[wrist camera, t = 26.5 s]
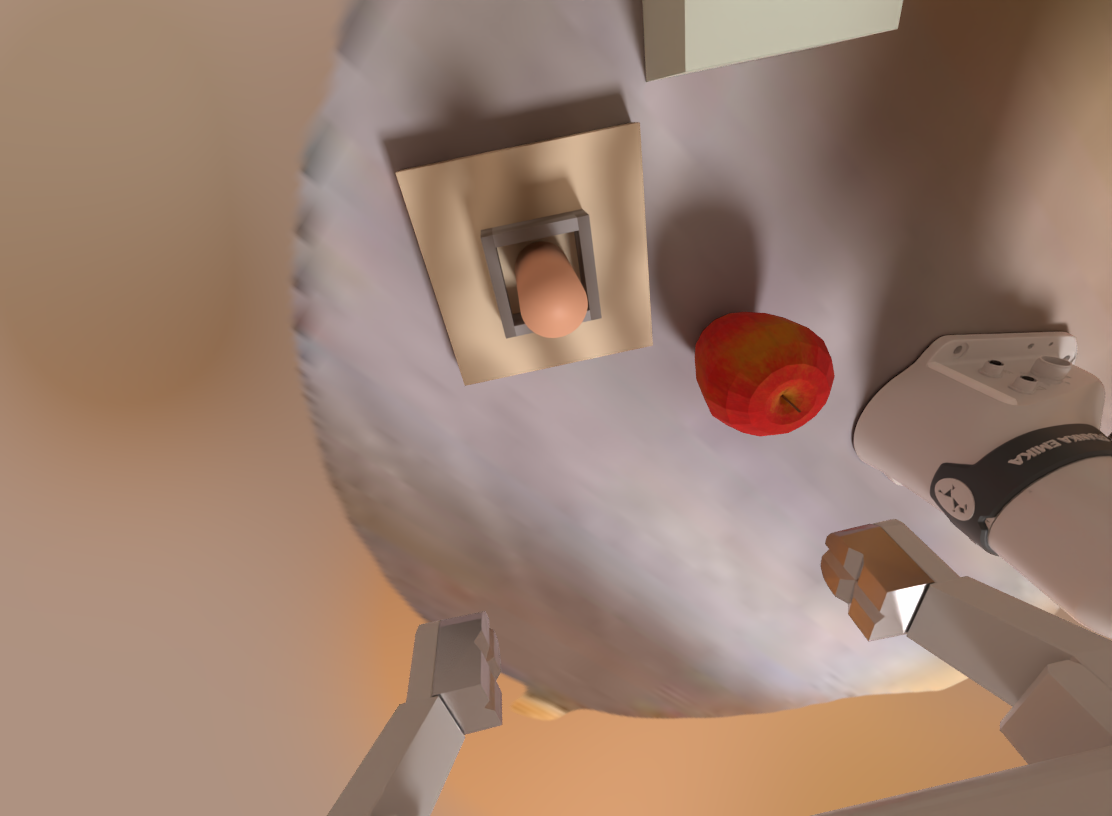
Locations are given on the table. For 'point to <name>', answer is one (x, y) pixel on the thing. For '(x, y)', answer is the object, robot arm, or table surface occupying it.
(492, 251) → the socket plate
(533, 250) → the pin
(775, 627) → the table surface
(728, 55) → the housing
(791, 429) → the apple
